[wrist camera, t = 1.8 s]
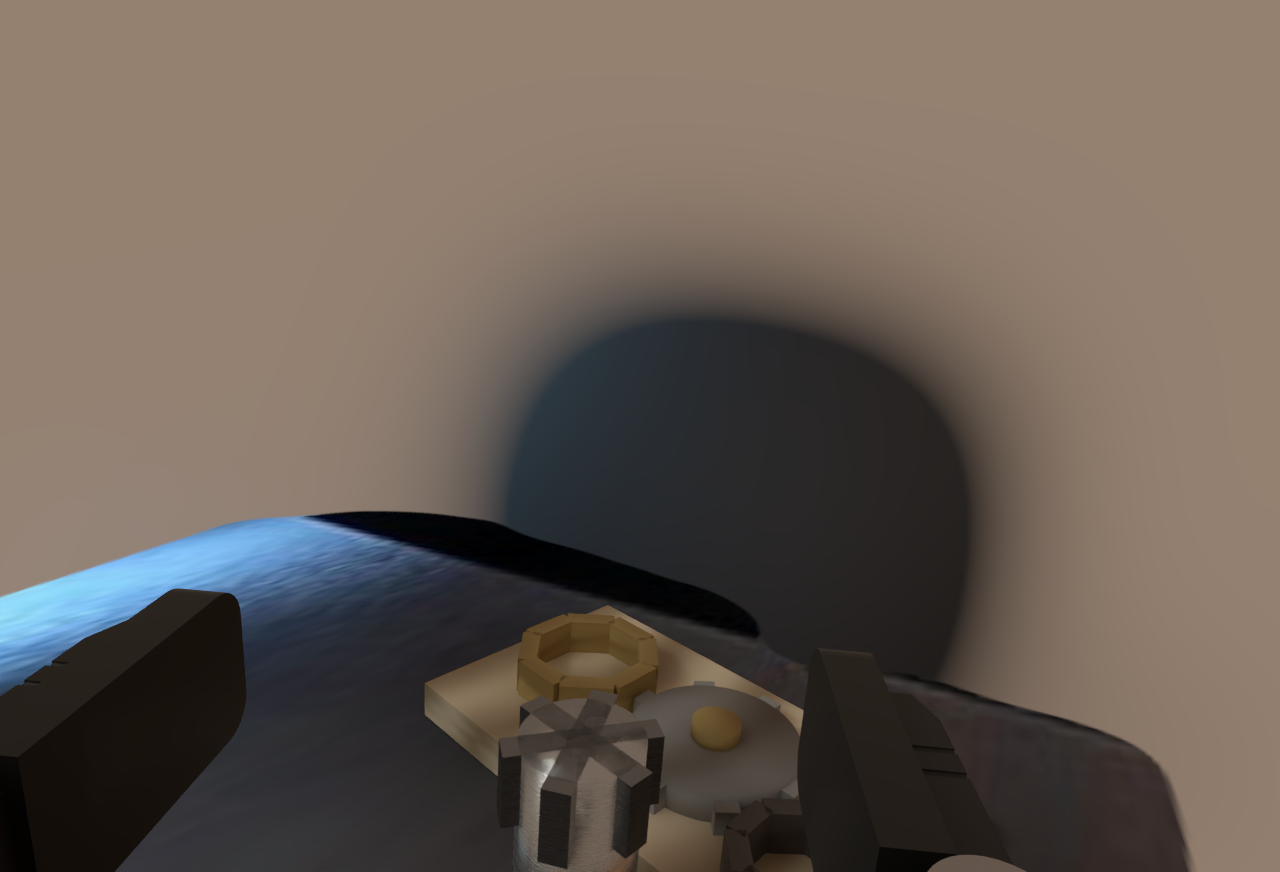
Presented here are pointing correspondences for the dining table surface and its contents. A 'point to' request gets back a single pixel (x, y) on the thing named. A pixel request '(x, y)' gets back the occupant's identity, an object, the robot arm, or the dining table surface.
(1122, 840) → the dining table surface
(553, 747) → the pinion shaft
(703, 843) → the gear board
